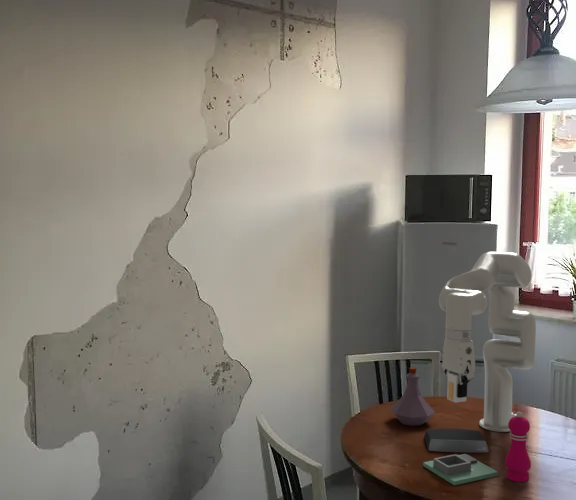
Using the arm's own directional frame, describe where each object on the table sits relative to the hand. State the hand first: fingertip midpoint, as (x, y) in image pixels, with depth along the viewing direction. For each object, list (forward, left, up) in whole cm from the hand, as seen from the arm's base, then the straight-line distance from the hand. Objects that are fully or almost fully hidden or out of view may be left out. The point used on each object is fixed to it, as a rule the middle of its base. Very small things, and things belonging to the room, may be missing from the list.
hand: (456, 394), depth 202 cm
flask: (-14, -42, -24) cm, 51 cm away
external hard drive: (-14, -17, -25) cm, 33 cm away
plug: (0, 0, -2) cm, 2 cm away
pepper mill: (-14, +11, -24) cm, 30 cm away
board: (-2, 0, -24) cm, 24 cm away
